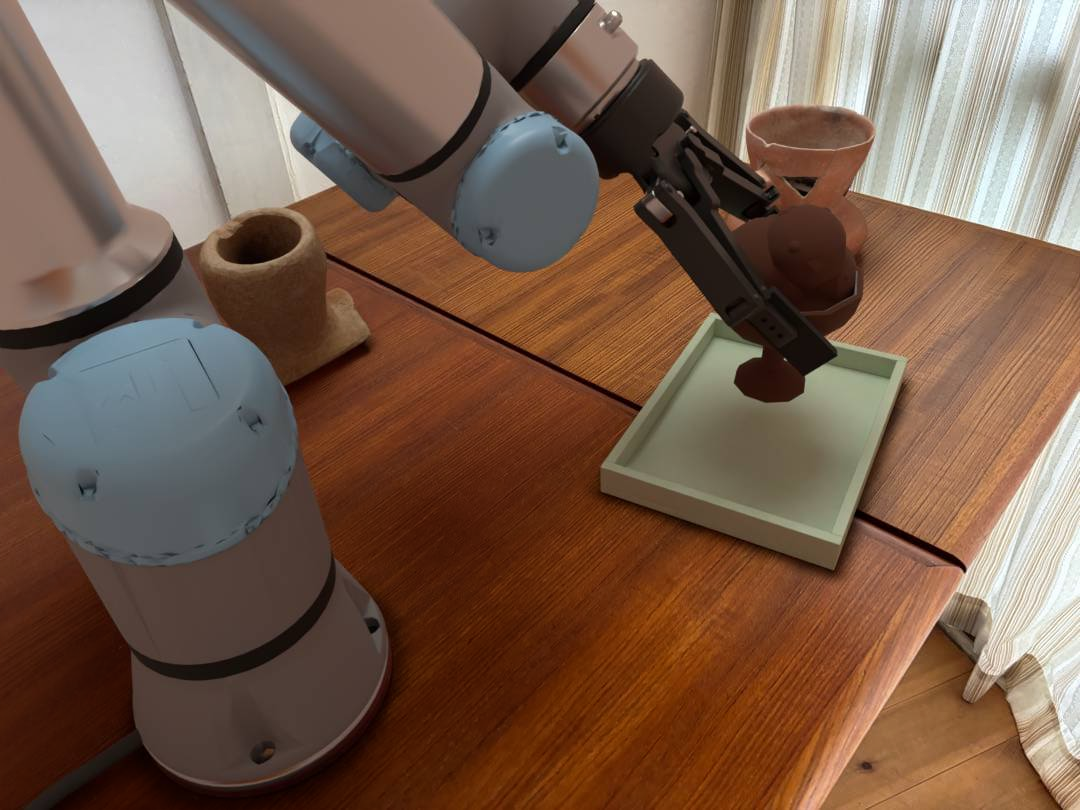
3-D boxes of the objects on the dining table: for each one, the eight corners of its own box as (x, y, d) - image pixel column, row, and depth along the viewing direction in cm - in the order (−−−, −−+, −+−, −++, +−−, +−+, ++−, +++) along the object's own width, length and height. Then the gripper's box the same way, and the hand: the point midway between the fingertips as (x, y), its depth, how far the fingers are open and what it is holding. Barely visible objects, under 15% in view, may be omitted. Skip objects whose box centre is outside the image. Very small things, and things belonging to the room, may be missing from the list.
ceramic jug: (793, 307, 84) (815, 170, 75) (688, 255, 93) (696, 128, 84) (903, 247, 92) (933, 117, 83) (796, 205, 101) (813, 84, 92)
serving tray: (833, 570, 57) (840, 545, 56) (600, 491, 65) (600, 466, 63) (902, 382, 73) (908, 357, 72) (708, 335, 81) (710, 312, 79)
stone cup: (263, 424, 73) (212, 272, 64) (203, 369, 81) (149, 225, 71) (405, 350, 81) (378, 205, 72) (338, 306, 88) (306, 169, 79)
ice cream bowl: (843, 349, 68) (879, 173, 59) (837, 437, 60) (878, 249, 51) (711, 333, 71) (726, 163, 62) (689, 415, 63) (701, 233, 54)
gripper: (617, 125, 44) (876, 387, 50) (665, 6, 62) (851, 211, 68) (525, 215, 48) (774, 445, 55) (594, 79, 66) (776, 266, 72)
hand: (817, 316), depth 61 cm, fingers closed on ice cream bowl, 11 cm apart
